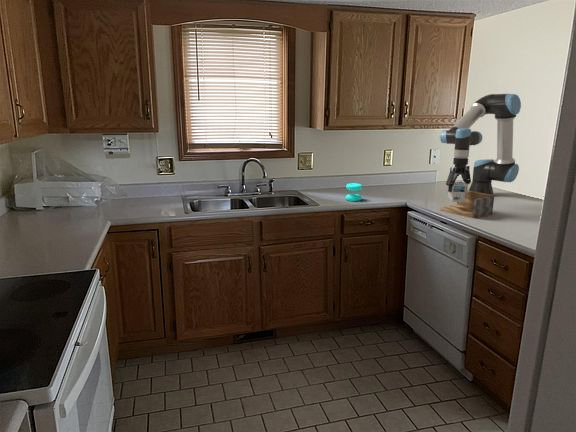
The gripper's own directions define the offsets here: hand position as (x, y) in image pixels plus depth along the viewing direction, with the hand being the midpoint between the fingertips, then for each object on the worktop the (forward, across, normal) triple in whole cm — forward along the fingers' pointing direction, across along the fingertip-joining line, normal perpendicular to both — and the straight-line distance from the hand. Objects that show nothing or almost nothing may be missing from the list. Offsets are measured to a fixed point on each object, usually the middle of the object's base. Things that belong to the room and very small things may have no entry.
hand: (457, 196), depth 246 cm
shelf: (+8, -2, +5) cm, 10 cm away
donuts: (+9, +27, -55) cm, 62 cm away
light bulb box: (+3, 0, 0) cm, 3 cm away
